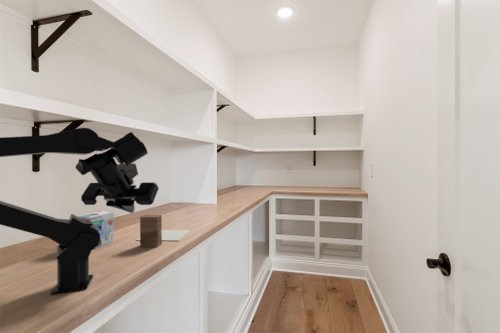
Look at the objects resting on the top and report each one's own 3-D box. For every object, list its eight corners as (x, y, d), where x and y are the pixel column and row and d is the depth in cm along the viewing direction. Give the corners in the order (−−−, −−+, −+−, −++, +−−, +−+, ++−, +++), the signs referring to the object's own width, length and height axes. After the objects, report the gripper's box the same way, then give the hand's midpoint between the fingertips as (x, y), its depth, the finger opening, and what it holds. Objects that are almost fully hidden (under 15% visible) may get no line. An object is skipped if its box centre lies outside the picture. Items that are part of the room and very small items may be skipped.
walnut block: (157, 246, 81) (157, 216, 81) (140, 246, 82) (140, 216, 82) (161, 244, 84) (161, 215, 84) (144, 244, 85) (144, 215, 85)
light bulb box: (89, 251, 78) (89, 217, 78) (72, 249, 79) (71, 216, 79) (114, 241, 88) (114, 211, 88) (98, 240, 90) (98, 210, 90)
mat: (179, 241, 88) (179, 240, 88) (135, 240, 88) (135, 239, 88) (191, 231, 102) (191, 230, 102) (153, 230, 102) (153, 230, 102)
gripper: (155, 152, 66) (171, 189, 77) (88, 153, 67) (113, 190, 78) (140, 183, 58) (160, 220, 69) (65, 184, 59) (96, 220, 70)
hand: (132, 211), depth 71 cm, fingers closed
